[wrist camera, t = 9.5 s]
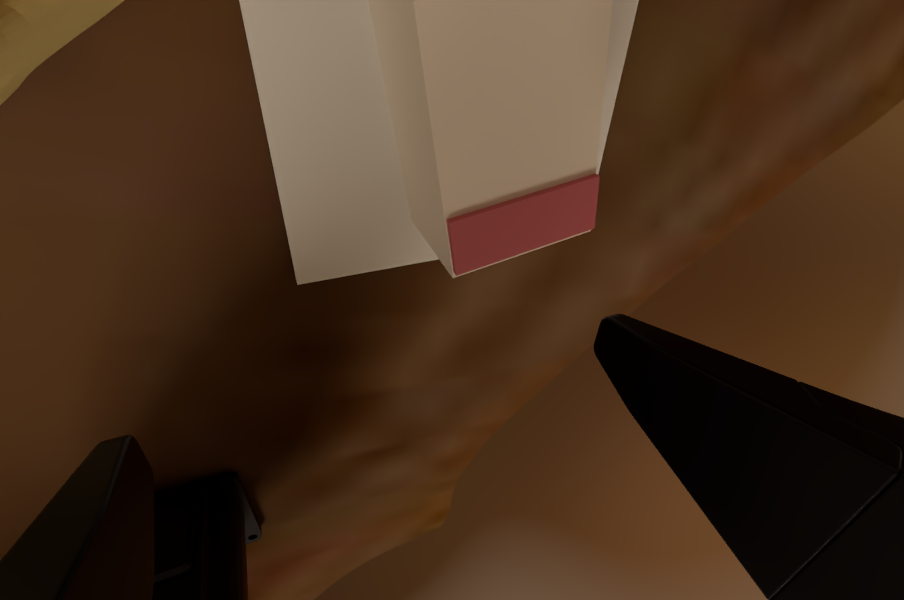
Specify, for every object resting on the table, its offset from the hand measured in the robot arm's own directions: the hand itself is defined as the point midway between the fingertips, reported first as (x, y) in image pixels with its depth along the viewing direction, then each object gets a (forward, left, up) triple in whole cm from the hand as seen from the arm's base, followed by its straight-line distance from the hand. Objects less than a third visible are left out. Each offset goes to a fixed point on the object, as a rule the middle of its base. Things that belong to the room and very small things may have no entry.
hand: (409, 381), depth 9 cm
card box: (+3, -5, -10) cm, 12 cm away
